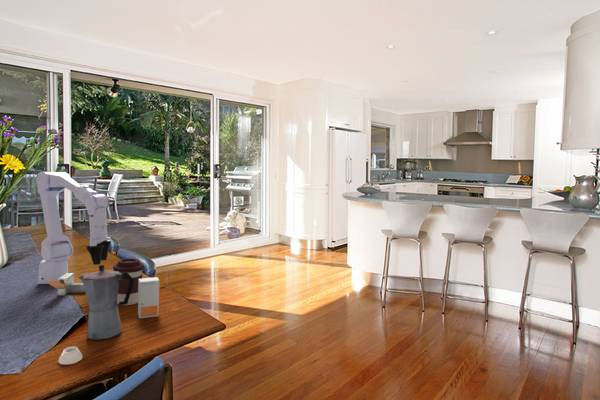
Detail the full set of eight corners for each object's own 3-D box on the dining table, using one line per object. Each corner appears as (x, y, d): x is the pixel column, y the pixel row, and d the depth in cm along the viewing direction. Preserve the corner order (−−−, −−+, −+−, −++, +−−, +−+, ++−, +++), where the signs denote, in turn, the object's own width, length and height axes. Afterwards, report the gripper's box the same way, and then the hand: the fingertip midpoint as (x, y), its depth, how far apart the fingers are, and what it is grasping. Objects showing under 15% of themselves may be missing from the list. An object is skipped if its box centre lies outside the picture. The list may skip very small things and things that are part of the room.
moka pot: (86, 326, 114) (86, 260, 112) (139, 327, 115) (140, 261, 114) (69, 341, 104) (69, 268, 103) (128, 341, 106) (128, 270, 104)
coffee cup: (146, 297, 141) (146, 257, 140) (139, 307, 131) (140, 263, 130) (117, 297, 139) (117, 257, 138) (108, 307, 129) (109, 263, 128)
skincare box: (138, 319, 121) (139, 282, 120) (137, 314, 125) (138, 278, 124) (159, 316, 124) (159, 280, 123) (157, 312, 128) (157, 276, 127)
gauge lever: (47, 284, 131) (48, 280, 132) (56, 289, 138) (57, 285, 138) (57, 284, 132) (58, 280, 132) (65, 289, 138) (66, 285, 139)
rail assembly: (57, 295, 139) (57, 279, 138) (66, 288, 147) (66, 273, 146) (112, 294, 142) (112, 278, 142) (118, 287, 150) (118, 272, 150)
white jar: (78, 354, 98) (55, 360, 94) (77, 342, 98) (55, 349, 94) (85, 361, 95) (62, 368, 91) (85, 349, 94) (62, 356, 91)
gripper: (104, 228, 138) (105, 265, 139) (115, 223, 152) (116, 257, 153) (82, 229, 137) (84, 266, 137) (95, 224, 151) (97, 258, 152)
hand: (100, 262), depth 145 cm, fingers open, 7 cm apart
